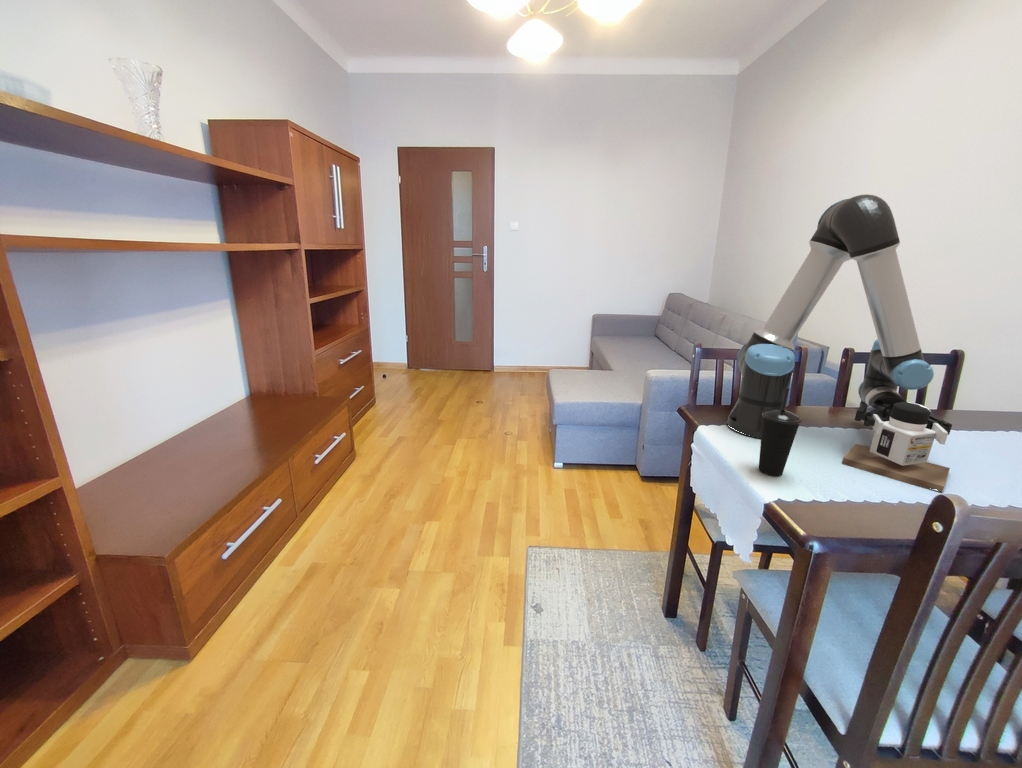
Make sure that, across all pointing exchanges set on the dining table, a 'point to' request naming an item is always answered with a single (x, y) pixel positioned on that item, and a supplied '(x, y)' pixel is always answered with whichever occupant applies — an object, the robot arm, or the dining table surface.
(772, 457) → the drinking cup
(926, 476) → the serving board
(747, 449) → the dining table surface
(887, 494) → the dining table surface
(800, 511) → the dining table surface
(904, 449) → the container
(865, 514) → the dining table surface
